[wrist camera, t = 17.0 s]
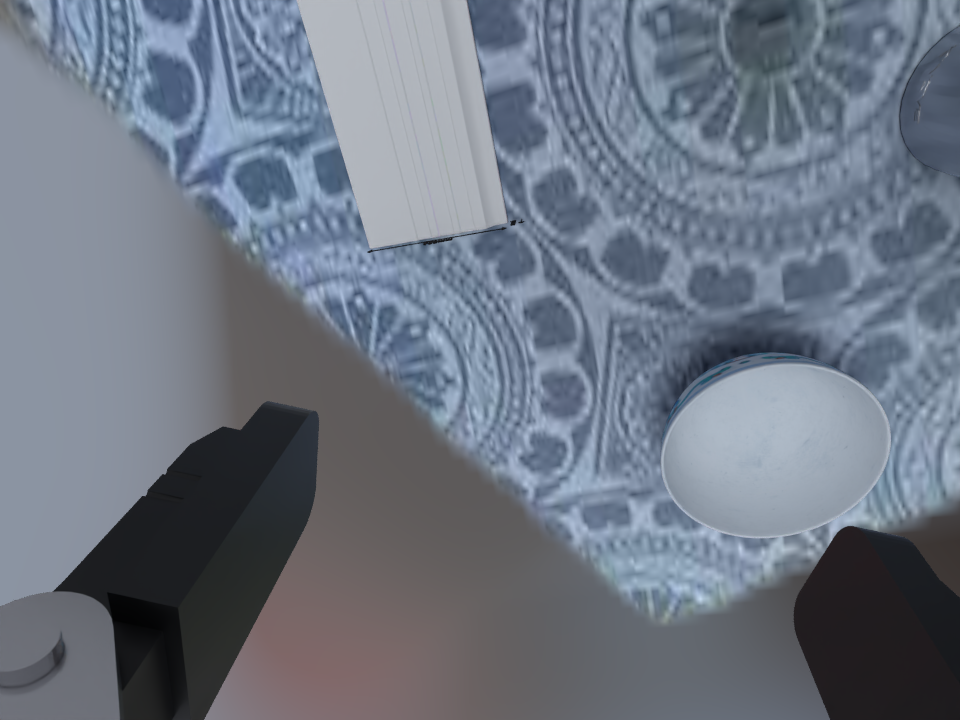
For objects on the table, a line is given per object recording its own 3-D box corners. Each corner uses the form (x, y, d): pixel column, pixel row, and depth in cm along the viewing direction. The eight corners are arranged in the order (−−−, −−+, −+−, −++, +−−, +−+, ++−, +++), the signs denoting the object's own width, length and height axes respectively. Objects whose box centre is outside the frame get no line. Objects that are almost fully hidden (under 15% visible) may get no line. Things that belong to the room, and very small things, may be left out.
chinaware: (637, 468, 52) (649, 531, 46) (658, 312, 45) (676, 359, 39) (815, 479, 51) (855, 545, 44) (866, 318, 44) (923, 368, 37)
